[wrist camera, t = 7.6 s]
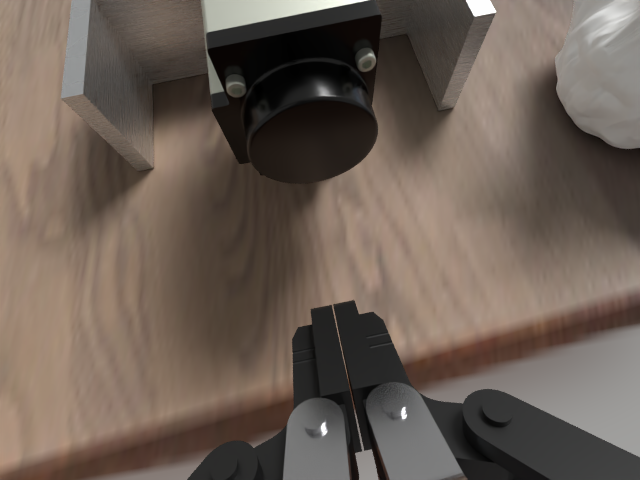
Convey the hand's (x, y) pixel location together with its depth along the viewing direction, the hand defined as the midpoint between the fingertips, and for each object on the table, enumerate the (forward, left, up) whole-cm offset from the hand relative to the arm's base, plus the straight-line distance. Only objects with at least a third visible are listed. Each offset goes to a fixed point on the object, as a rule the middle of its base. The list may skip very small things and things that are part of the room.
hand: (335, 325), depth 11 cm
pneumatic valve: (0, +11, -6) cm, 13 cm away
